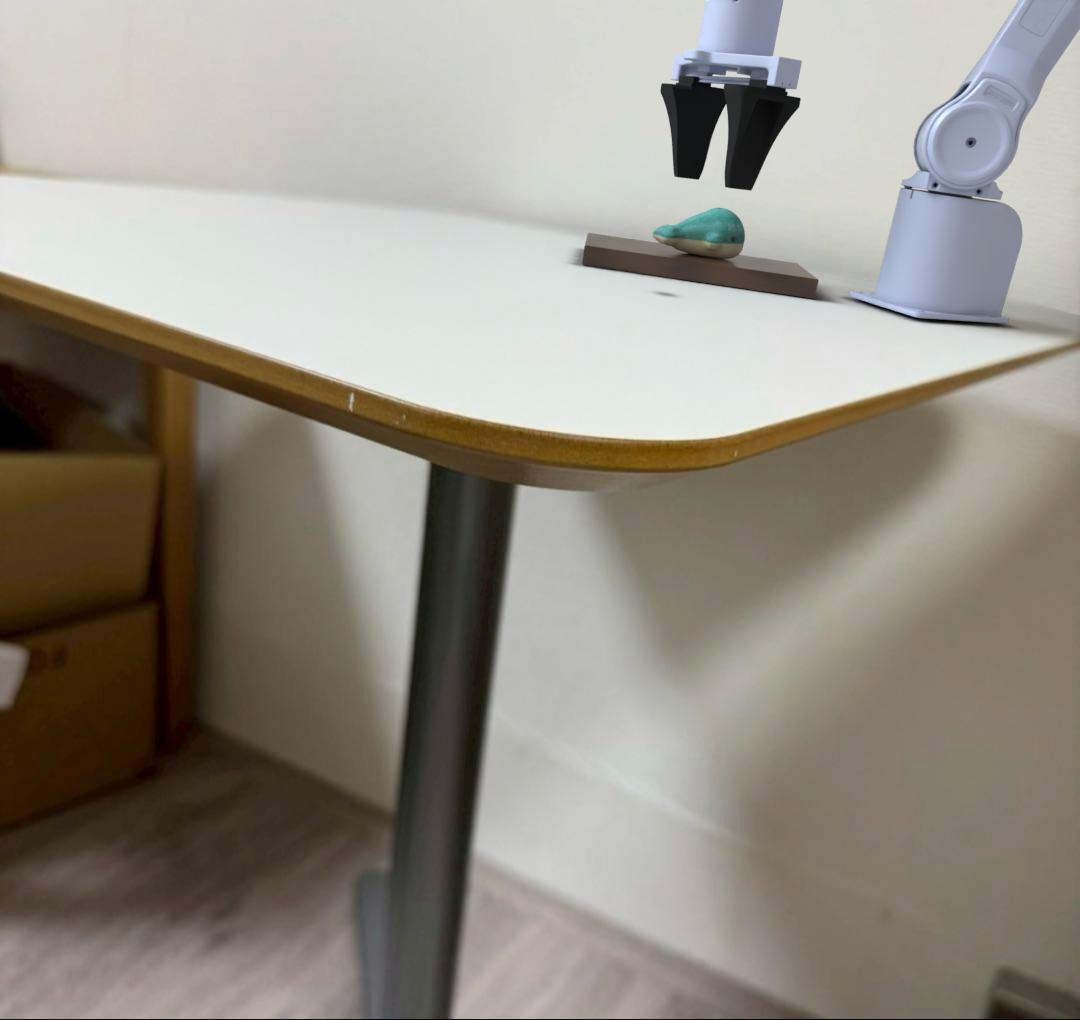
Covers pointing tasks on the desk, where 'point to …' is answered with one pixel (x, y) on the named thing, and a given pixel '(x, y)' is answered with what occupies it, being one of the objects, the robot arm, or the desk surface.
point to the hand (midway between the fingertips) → (711, 183)
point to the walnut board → (698, 266)
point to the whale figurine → (705, 234)
